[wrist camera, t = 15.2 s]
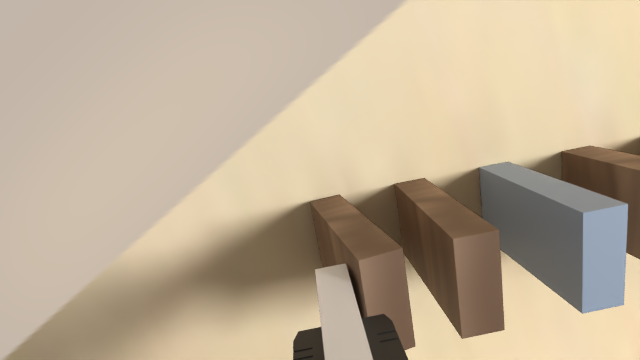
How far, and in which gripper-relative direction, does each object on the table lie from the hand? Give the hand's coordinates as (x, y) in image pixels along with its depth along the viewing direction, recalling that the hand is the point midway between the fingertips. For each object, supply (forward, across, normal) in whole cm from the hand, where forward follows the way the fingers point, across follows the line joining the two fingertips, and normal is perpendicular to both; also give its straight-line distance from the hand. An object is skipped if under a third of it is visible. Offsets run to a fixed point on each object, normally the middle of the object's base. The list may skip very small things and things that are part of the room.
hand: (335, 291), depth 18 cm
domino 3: (+7, -12, 0) cm, 14 cm away
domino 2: (+7, -6, 0) cm, 10 cm away
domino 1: (+7, 0, 0) cm, 7 cm away
